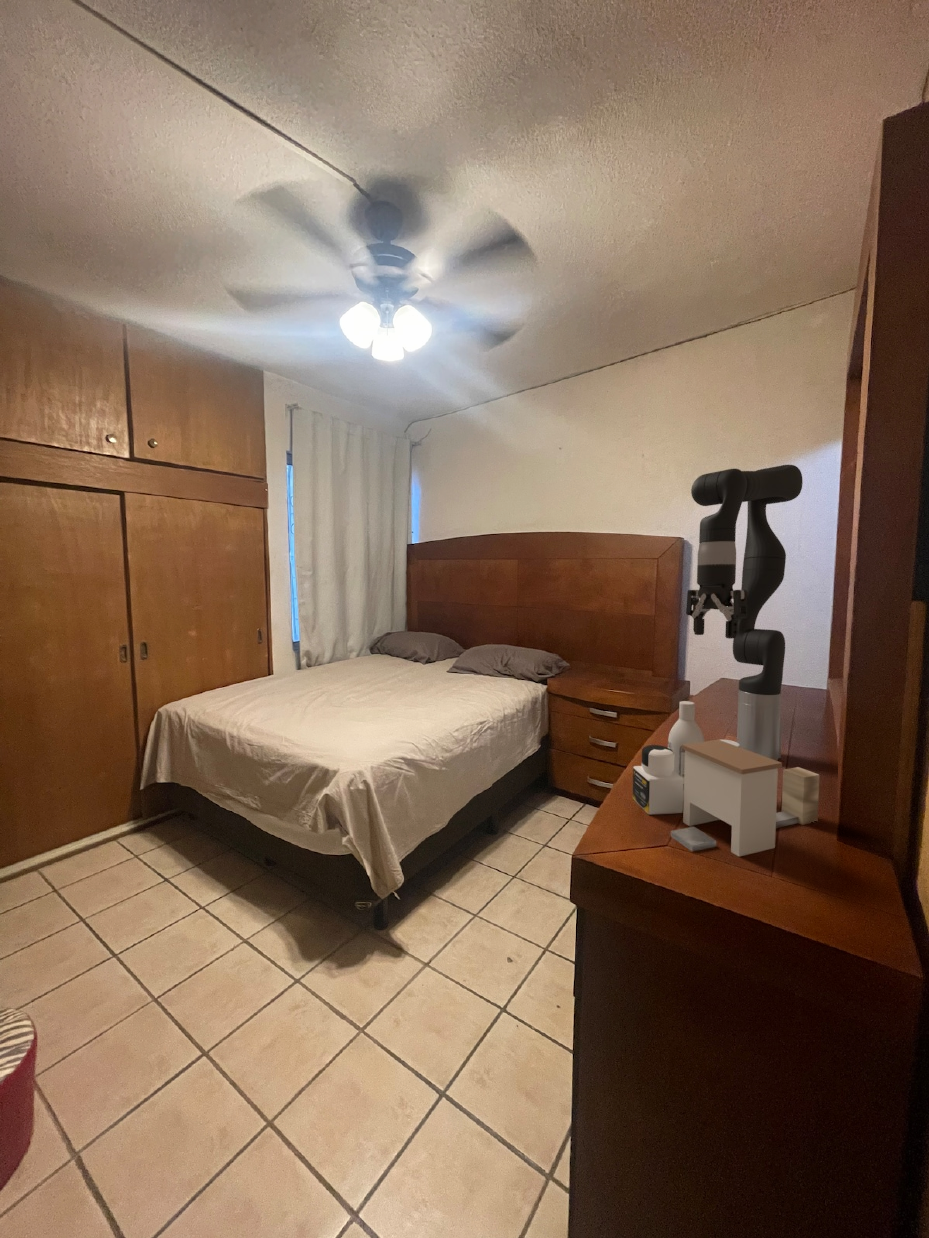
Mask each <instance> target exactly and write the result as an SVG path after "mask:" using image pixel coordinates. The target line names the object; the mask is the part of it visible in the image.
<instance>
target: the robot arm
mask: <svg viewBox="0 0 929 1238" xmlns="http://www.w3.org/2000/svg"><path fill="white" fill-rule="evenodd" d="M802 489H803V474H802V471H801V469H799V467H798V466H796V465H793V464H783V465H776V466H771V467H768V468H767V467H766V468H761V469H757V470H741V469H739V468H728V469H724V470H718V471H714V472H709V473H704V474H701V475H700V476H698V477H697V478H696V479H695V480H694V482H693V483H692V486H691V489H690V490H691V492H690V494H691V497H692V499H693V501H694V502H695V503H696V504H697V505H699V506H702V507H709V506H717V505H720V508H719V509H718V510H717V512H715V513H713V514H710V515H707V516H705V517H703V518H701V520H700V523H699V535H698V537H699V539H698V542H699V543H698V550H697V566H696V567H697V569H696V584H697V585H698V586H699V589H688V590H687V592H686V594H687V596H686V607H685V608H686V610H685V614H686V615H687V616H690V617H692V618H693V628H692V629H693V633H694V635H695V636H703V635H705V616H706V615H707V613H709V611H711V610H717V611H718V610H719V612H720V613H721V614H723V616H724V617H725V619H726V620H725V633H724V634H725V638H726V639H730V640H731V639H732V654H733V658H734V659H735V661H736V662H737V663H741V664H747V665H755V666H762V671H760V672H759V673H758V674H756V675H750V676H746V677H741V678H740V679H739V681H738V695H737V696H738V698H737V701H738V704H737V725H736V726H737V731H736V742H737V743H739V744H740V748H743V749H746V750H748V751H751V752H754V753H756V754H759V755H762V756H765V757H767V758H770V759H773V760H776V761H778V760H779V759H781V758H782V757H781V756H782V735H783V733H782V731H783V730H782V729H783V722H782V721H781V702H782V701H781V698H782V695H781V694H782V683H783V676H784V675H783V674H784V664H785V657H786V656H785V653H786V640H785V636H784V634H783V632H782V631H780V630H778V629H777V630H776V629H765V628H764V629H763V628H762V629H761V628H756V626H755V625H756V622H757V618H758V616H759V613H760V611H761V610H762V608H763V607H764V605H765V604H766V603H767V601H768V600H769V599H770V598H771V597H772V595H774V593H775V592H777V590H778V589H779V587H780V586H781V584H782V582H783V581H784V578H785V569H786V559H787V553H786V550H785V547H784V545H783V544H782V542H781V541H780V539H779V538H778V536H777V535H776V534H775V532H774V531H773V529H772V528H771V526H770V524H769V521H768V518H767V512H766V511H767V505H771V504H772V505H773V504H779V503H787V502H791V501H793V500H795V499H796V498H798V496H800V495H801V492H802ZM745 502H747V519H746V520H747V525H746V526H747V527H746V537H745V539H746V540H745V547H744V554H743V562H742V571H741V572H742V574H741V589H734V588H733V586H734V585H735V584H736V574H737V573H736V572H737V571H736V570H737V568H736V567H737V548H736V536H737V535H736V530H737V522H738V521H737V520H738V517H739V514H740V511H741V508H742V504H743V503H745ZM778 762H779V761H778Z"/></svg>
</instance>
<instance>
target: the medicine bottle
mask: <svg viewBox="0 0 929 1238" xmlns="http://www.w3.org/2000/svg"><path fill="white" fill-rule="evenodd" d="M632 799H633V800H634V802H635V803H636V804H637V805H638V806H639V807H640V808H641V809H642V810H643V811H644V812H645V813H646V814H647V815H649V816H650V815H652V816H653V815H669V814H670V815H671V814H683V808H684V801H683V778H682V777H681V776H679V775H678V774H677V773H675V772H674V752H673V751H672V750H671V749H669V748H668V746H664V745H659V744H651V745H645V746H644V747H642V748H641V765H634V766H633V767H632Z"/></svg>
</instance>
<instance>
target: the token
mask: <svg viewBox="0 0 929 1238" xmlns="http://www.w3.org/2000/svg"><path fill="white" fill-rule="evenodd" d="M670 838H672V839H674V840H675V841H676V842H677V843H680V845H682V846H684V847H685V848H686V849H688V850H689V851H691V853H692V852H698V851H701V850H702V851H703V850H707V849H711V848H715V847H717V840H715V838H713V837H711V836H710V835H708V834H706V833H705V832H703V831H702V830H700V829H699V828H697V827H695V826H689V827H685V828H678V829H675V830H670Z"/></svg>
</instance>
